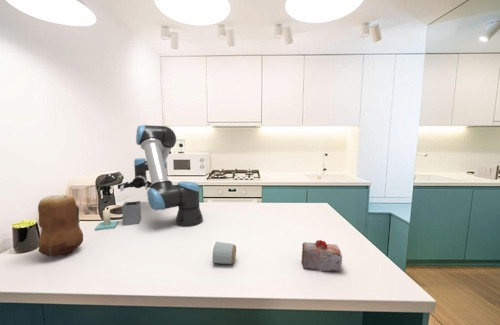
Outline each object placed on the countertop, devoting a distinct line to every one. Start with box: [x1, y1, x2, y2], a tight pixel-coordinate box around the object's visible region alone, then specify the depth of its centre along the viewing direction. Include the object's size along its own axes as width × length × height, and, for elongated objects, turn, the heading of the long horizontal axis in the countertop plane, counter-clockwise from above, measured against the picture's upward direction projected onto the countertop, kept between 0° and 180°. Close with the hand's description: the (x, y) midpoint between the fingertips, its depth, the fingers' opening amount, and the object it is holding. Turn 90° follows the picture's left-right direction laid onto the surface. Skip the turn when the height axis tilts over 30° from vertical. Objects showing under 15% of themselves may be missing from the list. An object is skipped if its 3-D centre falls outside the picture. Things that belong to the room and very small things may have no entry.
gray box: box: [121, 200, 142, 226], centre depth 124 cm, size 8×8×11 cm
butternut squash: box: [37, 194, 84, 258], centre depth 88 cm, size 14×13×25 cm
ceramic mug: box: [211, 241, 237, 265], centre depth 85 cm, size 11×8×8 cm
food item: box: [301, 239, 343, 273], centre depth 80 cm, size 14×8×10 cm, turn 82°
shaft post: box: [94, 208, 120, 231], centre depth 118 cm, size 9×9×9 cm
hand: (133, 188), depth 132 cm, fingers open, 13 cm apart
